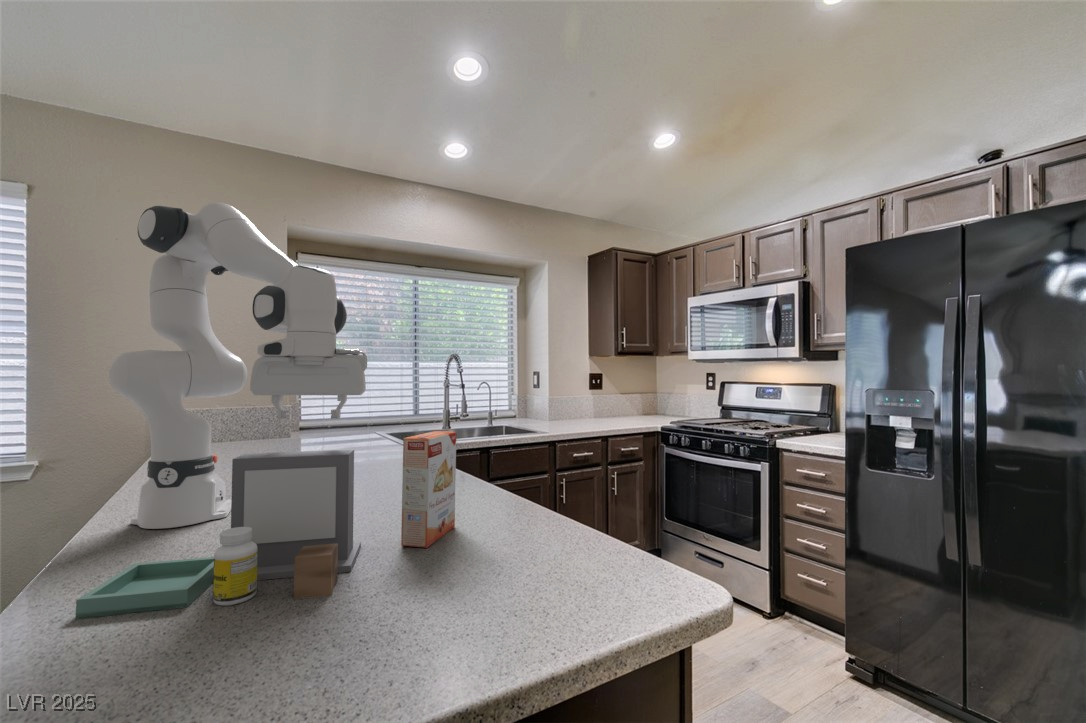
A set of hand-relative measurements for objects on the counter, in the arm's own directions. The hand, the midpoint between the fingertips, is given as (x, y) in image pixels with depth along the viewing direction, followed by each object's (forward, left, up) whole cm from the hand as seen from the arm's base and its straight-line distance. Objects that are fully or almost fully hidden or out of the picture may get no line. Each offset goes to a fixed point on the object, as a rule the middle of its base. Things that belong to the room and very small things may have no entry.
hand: (309, 418), depth 91 cm
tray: (+16, -17, -25) cm, 34 cm away
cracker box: (0, +23, -25) cm, 34 cm away
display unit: (+9, 0, -25) cm, 26 cm away
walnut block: (+21, +6, -25) cm, 33 cm away
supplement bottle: (+21, -5, -25) cm, 33 cm away
